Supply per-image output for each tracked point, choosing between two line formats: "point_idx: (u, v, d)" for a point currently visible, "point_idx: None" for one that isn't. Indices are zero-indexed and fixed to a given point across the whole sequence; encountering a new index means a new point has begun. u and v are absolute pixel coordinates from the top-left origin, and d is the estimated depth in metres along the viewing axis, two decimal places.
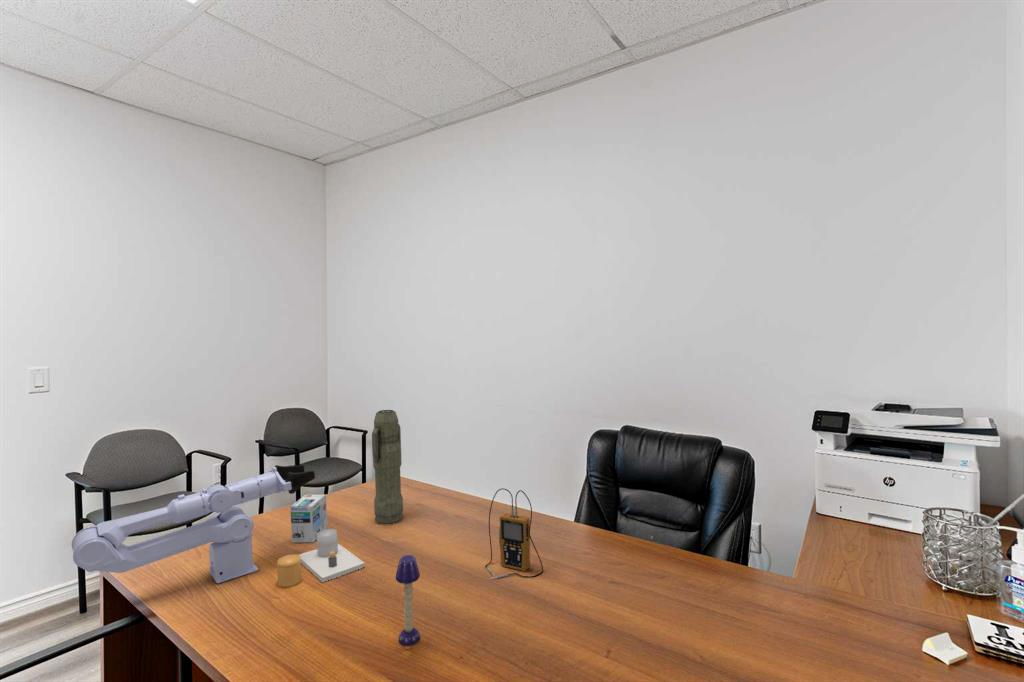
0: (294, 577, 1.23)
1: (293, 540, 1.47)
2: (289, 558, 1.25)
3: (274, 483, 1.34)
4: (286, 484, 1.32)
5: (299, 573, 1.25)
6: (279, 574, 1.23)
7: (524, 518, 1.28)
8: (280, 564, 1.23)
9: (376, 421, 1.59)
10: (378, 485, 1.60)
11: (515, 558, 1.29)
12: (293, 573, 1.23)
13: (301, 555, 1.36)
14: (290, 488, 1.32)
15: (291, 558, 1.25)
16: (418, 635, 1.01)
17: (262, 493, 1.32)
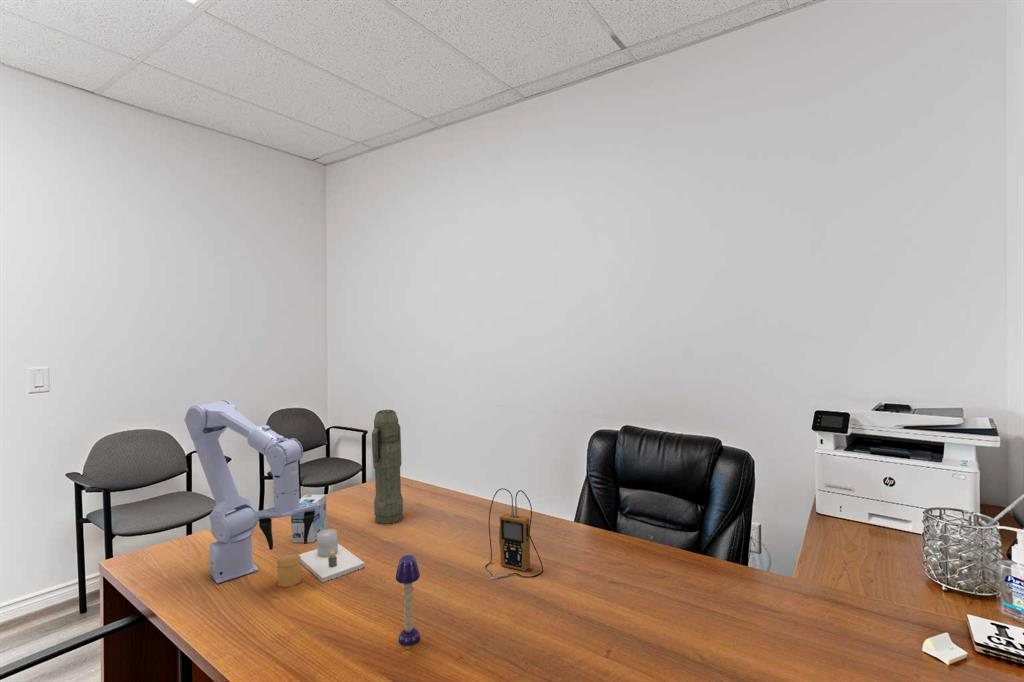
0: (294, 577, 1.23)
1: (293, 540, 1.47)
2: (289, 558, 1.25)
3: (274, 506, 1.23)
4: (254, 517, 1.21)
5: (299, 573, 1.25)
6: (279, 574, 1.23)
7: (524, 518, 1.28)
8: (280, 564, 1.23)
9: (376, 421, 1.59)
10: (378, 485, 1.60)
11: (515, 558, 1.29)
12: (293, 573, 1.23)
13: (301, 555, 1.36)
14: None
15: (291, 558, 1.25)
16: (418, 635, 1.01)
17: None
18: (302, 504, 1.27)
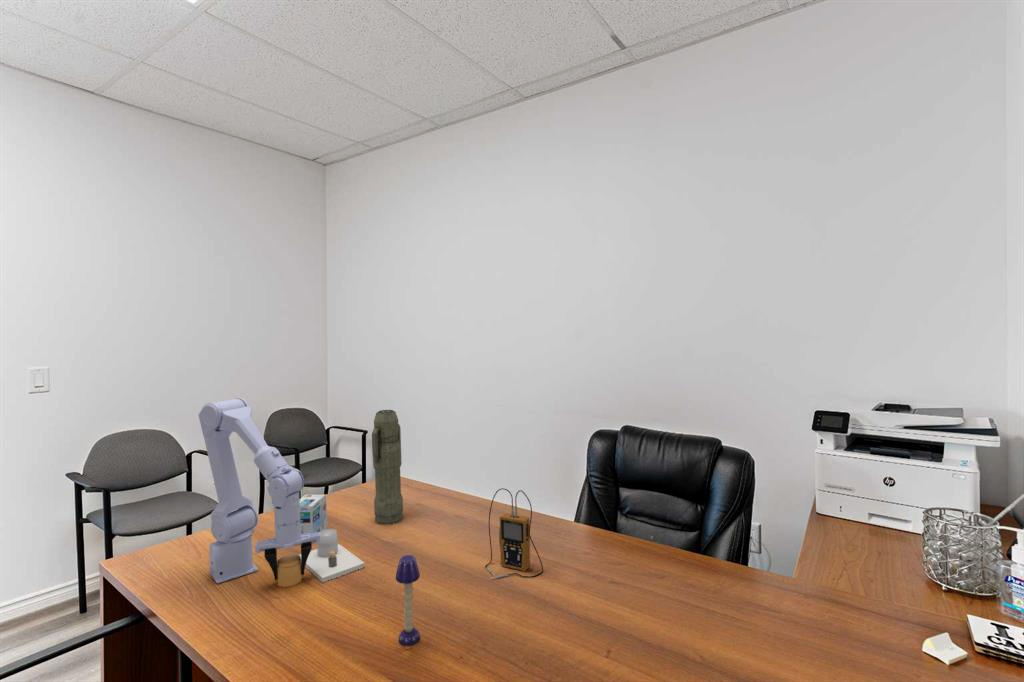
0: (294, 577, 1.23)
1: None
2: (289, 558, 1.25)
3: (275, 537, 1.23)
4: (255, 548, 1.21)
5: (299, 573, 1.25)
6: (279, 574, 1.23)
7: (524, 518, 1.28)
8: (280, 564, 1.23)
9: (376, 421, 1.59)
10: (378, 485, 1.60)
11: (515, 558, 1.29)
12: (293, 573, 1.23)
13: None
14: None
15: (291, 558, 1.25)
16: (418, 635, 1.01)
17: None
18: (303, 534, 1.28)
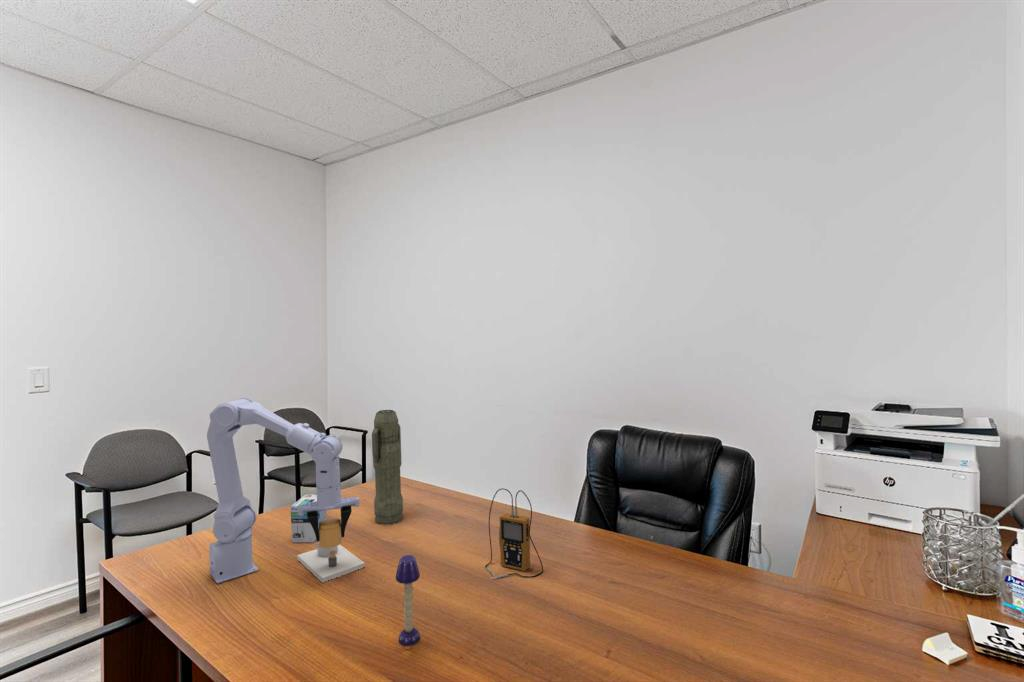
0: (335, 539, 1.28)
1: (293, 540, 1.47)
2: (330, 521, 1.30)
3: (317, 500, 1.28)
4: (298, 510, 1.26)
5: (340, 535, 1.29)
6: (321, 536, 1.28)
7: (524, 518, 1.28)
8: (322, 526, 1.27)
9: (376, 421, 1.59)
10: (378, 485, 1.60)
11: (515, 558, 1.29)
12: (334, 535, 1.28)
13: (301, 555, 1.36)
14: None
15: (331, 521, 1.30)
16: (418, 635, 1.01)
17: None
18: (342, 498, 1.32)
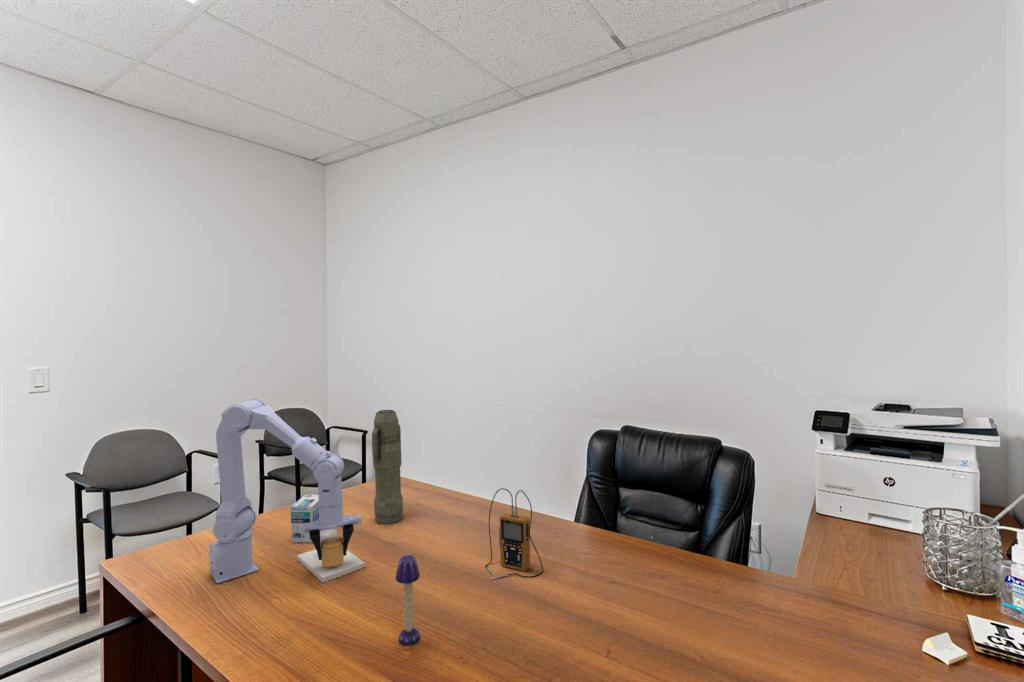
0: (337, 557, 1.28)
1: (293, 540, 1.47)
2: (332, 539, 1.30)
3: (319, 519, 1.28)
4: None
5: (342, 554, 1.30)
6: (323, 554, 1.28)
7: (524, 518, 1.28)
8: (324, 545, 1.28)
9: (376, 421, 1.59)
10: (378, 485, 1.60)
11: (515, 558, 1.29)
12: (336, 553, 1.28)
13: (301, 555, 1.36)
14: None
15: (333, 540, 1.30)
16: (418, 635, 1.01)
17: None
18: (344, 517, 1.33)
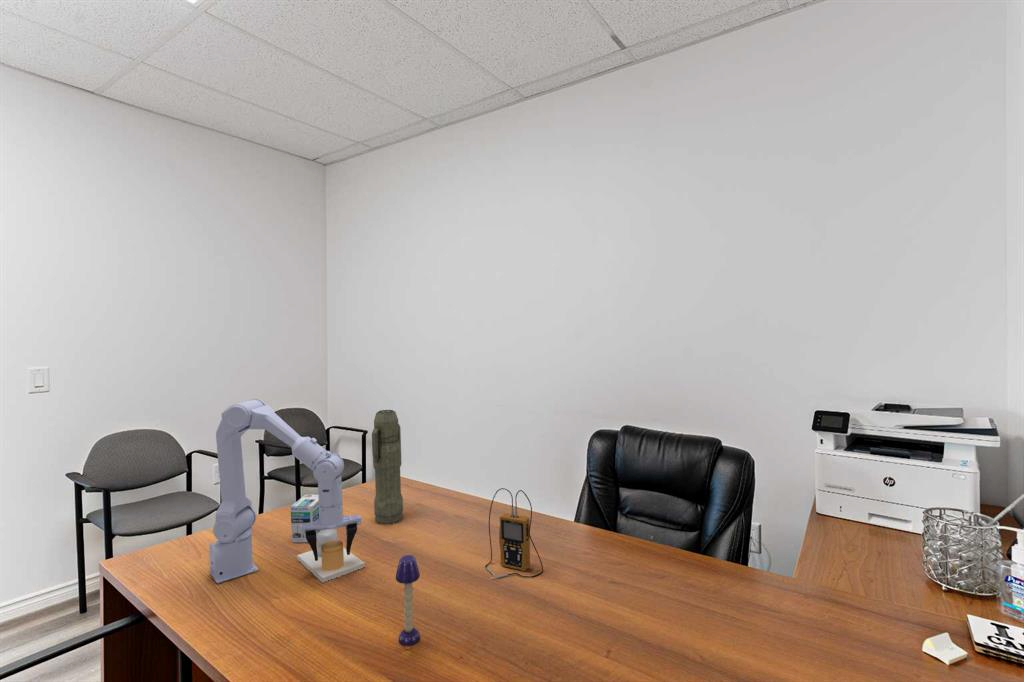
0: (337, 561, 1.28)
1: (293, 540, 1.47)
2: (332, 543, 1.30)
3: (319, 519, 1.28)
4: None
5: (342, 558, 1.30)
6: (323, 558, 1.28)
7: (524, 518, 1.28)
8: (324, 549, 1.28)
9: (376, 421, 1.59)
10: (378, 485, 1.60)
11: (515, 558, 1.29)
12: (337, 557, 1.28)
13: (301, 555, 1.36)
14: None
15: (334, 544, 1.30)
16: (418, 635, 1.01)
17: None
18: (344, 517, 1.33)
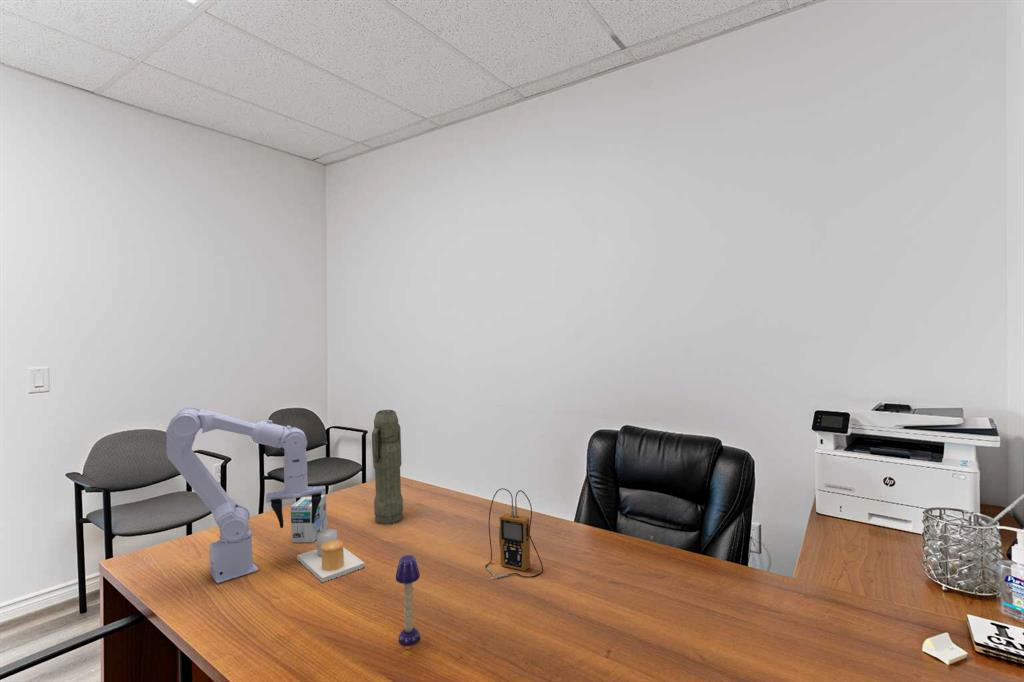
0: (337, 561, 1.28)
1: (293, 540, 1.47)
2: (332, 543, 1.30)
3: None
4: None
5: (342, 558, 1.30)
6: (323, 558, 1.28)
7: (524, 518, 1.28)
8: (324, 549, 1.28)
9: (376, 421, 1.59)
10: (378, 485, 1.60)
11: (515, 558, 1.29)
12: (337, 557, 1.28)
13: (301, 555, 1.36)
14: None
15: (334, 544, 1.30)
16: (418, 635, 1.01)
17: None
18: (310, 487, 1.39)
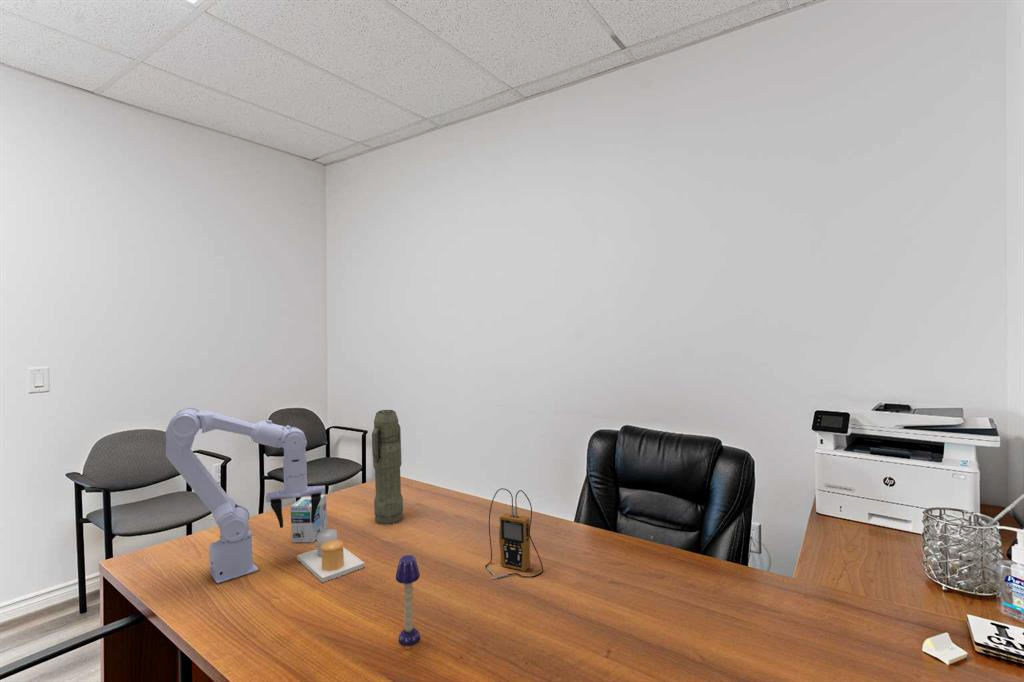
0: (337, 561, 1.28)
1: (293, 540, 1.47)
2: (332, 543, 1.30)
3: (284, 488, 1.35)
4: (266, 497, 1.33)
5: (342, 558, 1.30)
6: (323, 558, 1.28)
7: (524, 518, 1.28)
8: (324, 549, 1.28)
9: (376, 421, 1.59)
10: (378, 485, 1.60)
11: (515, 558, 1.29)
12: (337, 557, 1.28)
13: (301, 555, 1.36)
14: None
15: (334, 544, 1.30)
16: (418, 635, 1.01)
17: None
18: (309, 487, 1.40)
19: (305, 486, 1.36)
